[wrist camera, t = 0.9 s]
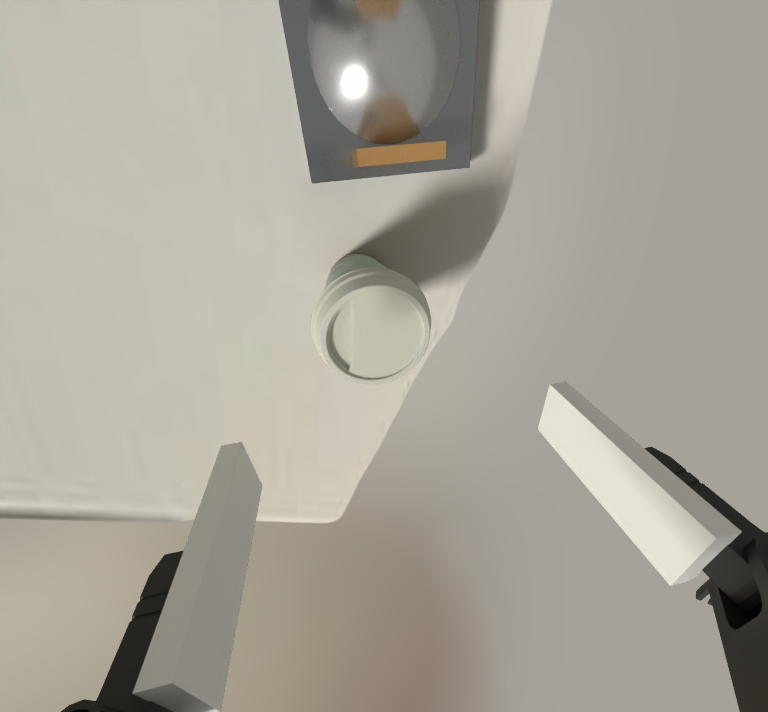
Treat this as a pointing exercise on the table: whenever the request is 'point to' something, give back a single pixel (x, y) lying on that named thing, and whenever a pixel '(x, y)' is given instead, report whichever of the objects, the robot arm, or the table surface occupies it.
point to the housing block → (383, 84)
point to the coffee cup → (370, 321)
